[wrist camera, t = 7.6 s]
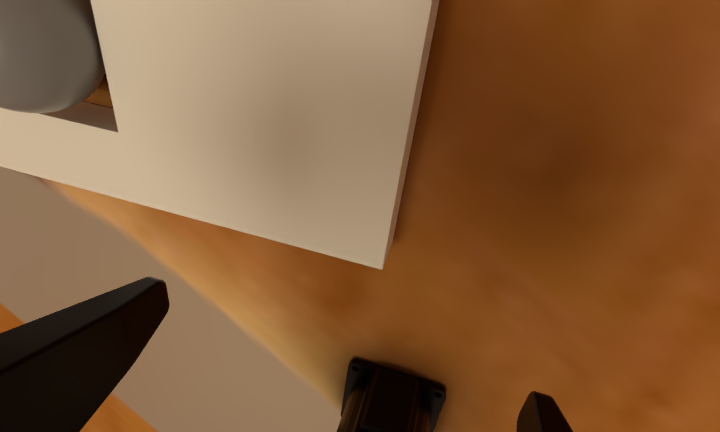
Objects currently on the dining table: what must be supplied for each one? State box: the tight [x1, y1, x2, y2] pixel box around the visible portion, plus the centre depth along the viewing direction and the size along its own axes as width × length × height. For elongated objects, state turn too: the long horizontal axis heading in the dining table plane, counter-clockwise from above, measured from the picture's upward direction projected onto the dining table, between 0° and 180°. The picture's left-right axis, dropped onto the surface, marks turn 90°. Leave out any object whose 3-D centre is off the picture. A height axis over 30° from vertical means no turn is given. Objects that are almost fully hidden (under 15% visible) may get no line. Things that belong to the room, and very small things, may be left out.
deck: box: [0, 0, 440, 270], centre depth 19 cm, size 16×24×2 cm, turn 83°
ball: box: [0, 0, 106, 113], centre depth 18 cm, size 6×6×6 cm
